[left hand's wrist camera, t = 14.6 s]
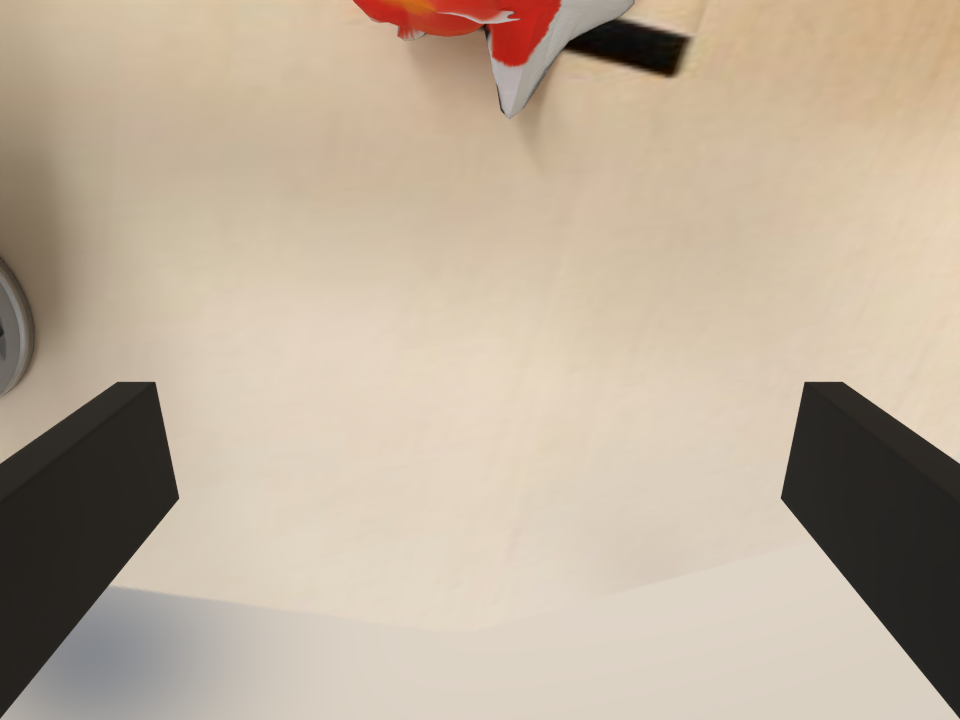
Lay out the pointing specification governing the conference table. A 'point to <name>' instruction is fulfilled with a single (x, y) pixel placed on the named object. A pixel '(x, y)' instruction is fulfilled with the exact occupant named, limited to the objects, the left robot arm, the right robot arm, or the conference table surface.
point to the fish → (503, 32)
